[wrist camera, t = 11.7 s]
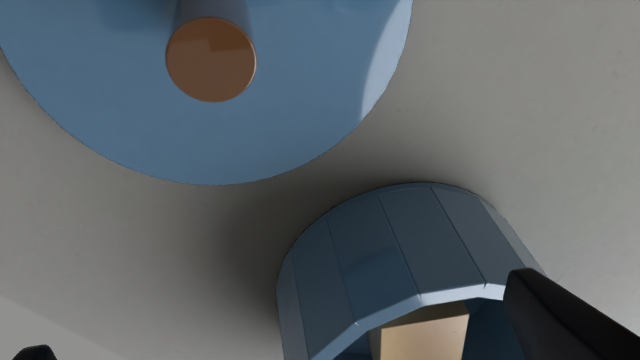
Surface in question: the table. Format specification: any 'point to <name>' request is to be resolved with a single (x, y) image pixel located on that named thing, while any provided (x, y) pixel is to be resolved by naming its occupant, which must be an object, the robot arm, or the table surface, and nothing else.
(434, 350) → the block
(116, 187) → the table surface
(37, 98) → the bowl lid
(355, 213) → the bowl
